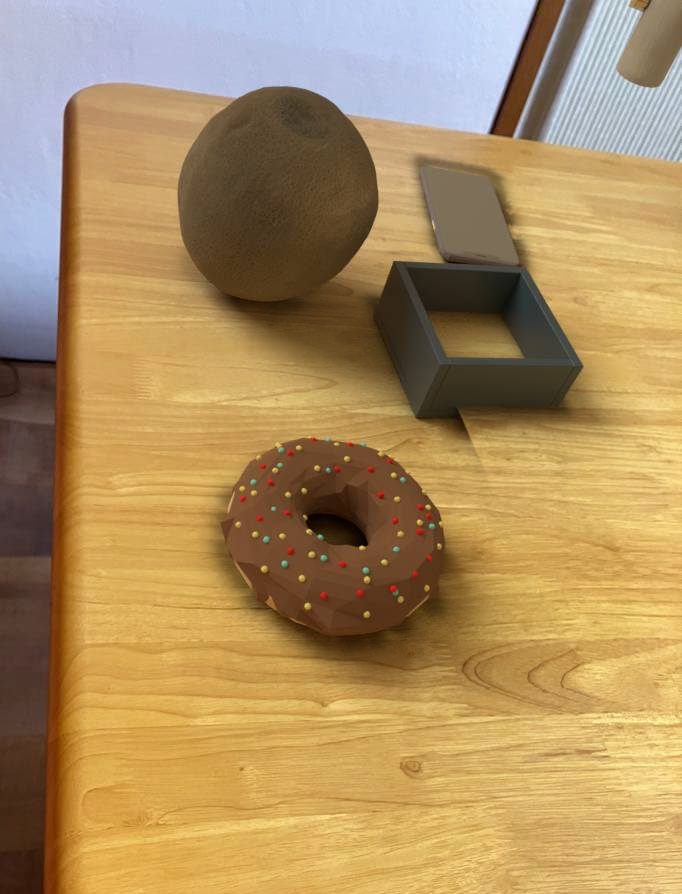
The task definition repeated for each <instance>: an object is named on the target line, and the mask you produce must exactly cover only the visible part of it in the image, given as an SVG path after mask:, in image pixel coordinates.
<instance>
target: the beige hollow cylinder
mask: <svg viewBox="0 0 682 894" xmlns="http://www.w3.org/2000/svg"><path fill="white" fill-rule="evenodd" d="M681 49H682V0H649V2H648V4H647V6H646V8H645V10H644V11H643V12H642V13H641V15H640V17H639V19H638V21H637V22H636V25H635V27H634V29H633V30H632V33H631V35H630V37H629V39H628V41H627V43H626V45H625V47H624V50H623V52H622V53H621V55H620V58H619V60H618V62H617V64H616V67H615V68H616V72H617V73H618V74H619V76H621V77H622V78H623V79H625V80H626V81H628V82H630V83H632V84H635V85H637V86H640V87H644V88H649V89H655V88H659V87H660V86H661V85H662V84H663V82H664V81H665V79H666V77H667V75H668V73H669V71H670V69H671V67H672V66H673V64H674V62H675V60H676V58H677V56H678V54H679V52H680V50H681Z"/></svg>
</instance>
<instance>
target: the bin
mask: <svg viewBox="0 0 682 894" xmlns="http://www.w3.org/2000/svg"><path fill="white" fill-rule="evenodd" d="M381 291H382V292H381V295H380V297H379V299H378V302H377V305H376V308H375V310H374V314H373V317H374V319H375V322H376V325H377V327H378V329H379V331H380V334H381V337H382V339H383V341H384V344H385V346H386V348H387V351H388V354H389V356H390V358H391V360H392V363H393V366H394V368H395V370H396V373H397V376H398V378H399V380H400V383H401V385H402V388H403V390H404V393H405V395H406V397H407V400H408V402H409V405H410V407H411V410H412V412H413V415H414V417H415V418H416V419H461V418H462V416H461V413H460V411H459V409H458V407H560V405H561V404H562V402H563V400H564V399H565V398H566V396H567V394H568V393H569V391H570V389H571V388H572V386H573V385H574V383H575V381H576V380H577V378H578V377H579V375H580V373H581V372H582V370H583V369H584V367H585V366H584V364H583V362H582V361H581V359H580V357H579V356H578V354H577V352H576V351H575V349H574V346H573V345H572V344H571V342H570V340H569V338H568V337H567V334H565V332H564V330H563V328H562V326H561V325H560V323H559V321H558V320H557V318H556V316H555V315H554V313H553V311H552V310H551V308H550V306H549V305H548V303H547V301H546V299H545V297H544V296H543V294H542V292H541V290H540V289H539V287H538V285H537V284H536V282H535V280H534V279H533V277H532V275H531V274H530V271H529V270H528V268H527V267H525V266H518V267H508V266H489V265H473V264H466V263H449V262H448V263H447V262H430V261H429V262H427V261H409V260H408V261H407V260H403V261H402V260H393V262H392V263H391V266H390V268H389V272H388V274H387V278H386V280H385V283H384V286H383V288H382V290H381ZM427 312H444V313H445V312H447V313H478V314H479V313H480V314H500V315H501V317H502V319H503V321H504V322H505V324H506V326H507V328H508V330H509V332H510V333H511V334H510V335H511V336H512V337H513V339H514V341H515V343H516V345H517V347H518V348H519V351H520V353H521V354H522V357H523V358H522V357H519V358H517V357H467V356H466V357H465V356H464V357H463V356H461V357H460V356H459V357H458V356H447V354H446V352H445V350H444V348H443V346H442V343H441V341H440V339H439V336H438V335H437V332H436V330H435V328H434V325H433V324H432V321H431V319H430V317H429V315H428V313H427Z"/></svg>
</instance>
